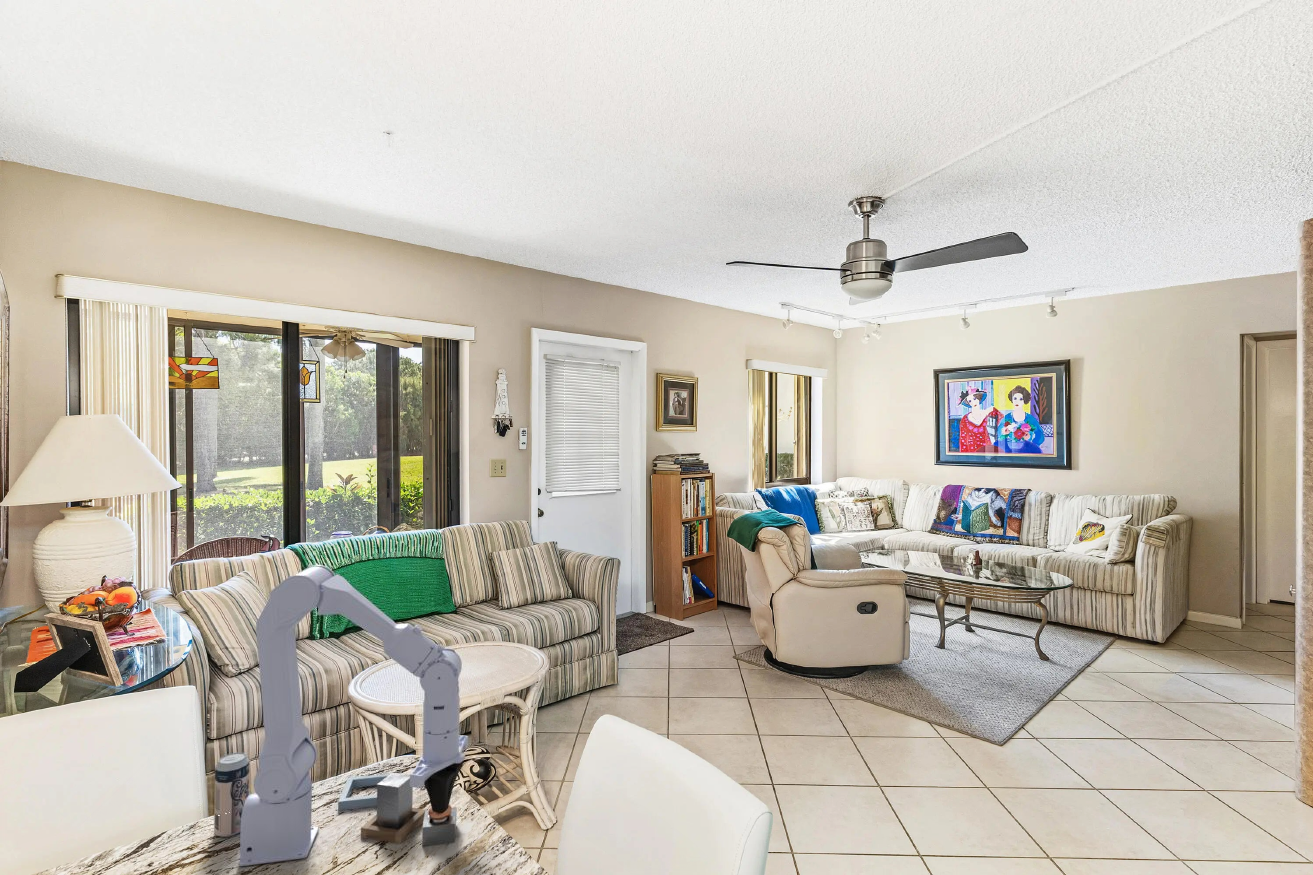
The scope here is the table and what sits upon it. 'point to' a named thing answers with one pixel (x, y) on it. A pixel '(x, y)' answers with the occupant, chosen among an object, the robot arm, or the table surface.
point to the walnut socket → (390, 834)
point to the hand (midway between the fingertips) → (440, 810)
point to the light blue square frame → (362, 800)
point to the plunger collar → (439, 830)
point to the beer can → (230, 793)
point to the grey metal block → (394, 801)
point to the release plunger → (439, 815)
